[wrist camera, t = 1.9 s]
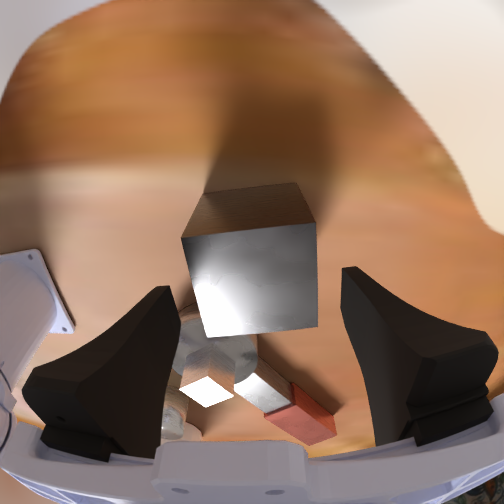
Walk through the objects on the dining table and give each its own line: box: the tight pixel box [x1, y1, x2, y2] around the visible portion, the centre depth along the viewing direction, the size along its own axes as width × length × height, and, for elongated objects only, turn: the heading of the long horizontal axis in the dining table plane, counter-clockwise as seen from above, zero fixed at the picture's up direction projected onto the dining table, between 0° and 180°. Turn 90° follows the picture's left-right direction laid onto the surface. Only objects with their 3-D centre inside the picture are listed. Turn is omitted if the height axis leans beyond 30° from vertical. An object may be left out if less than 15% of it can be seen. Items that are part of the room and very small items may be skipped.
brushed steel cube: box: [181, 183, 318, 337], centre depth 16 cm, size 5×5×6 cm
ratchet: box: [172, 303, 337, 446], centre depth 23 cm, size 20×6×6 cm, turn 37°
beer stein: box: [442, 472, 504, 504], centre depth 23 cm, size 16×19×25 cm
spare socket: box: [161, 386, 189, 440], centre depth 25 cm, size 4×4×4 cm
